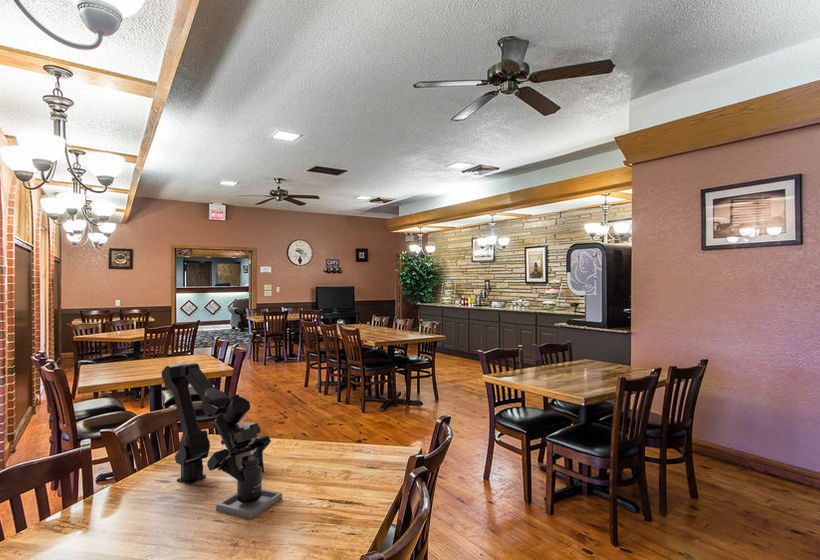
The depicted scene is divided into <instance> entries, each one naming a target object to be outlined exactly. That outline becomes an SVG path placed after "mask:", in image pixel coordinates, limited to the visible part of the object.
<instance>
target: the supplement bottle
mask: <svg viewBox="0 0 820 560" xmlns="http://www.w3.org/2000/svg"><path fill="white" fill-rule="evenodd" d="M258 464H259V457H258V456H257V455H248V456H244V457H243V458H242V462H241V467H240V468H239V471H240V473H241V475H242V477H243V482H239V481H238V480H237V479H236V480H237V483H236V487H237V489H236V492H237V500H238V501H239V502H240V503H253V502H255V501H257V500H259V499H260V498H261V495H262V489H263V488H262V487H263V473H262V467H261V466H260V465H258Z"/></svg>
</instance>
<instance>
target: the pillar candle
mask: <svg viewBox="0 0 820 560" xmlns="http://www.w3.org/2000/svg"><path fill="white" fill-rule="evenodd" d="M252 424H255V422H238V425H239V427H240V428H242V427H243V428H244V429H245V430H246V429H249V428H250V425H252ZM256 438H258V436H257V437H256ZM256 438H252V439H251V440H252V441H251V442H250V443H248V445H250V444H252V443H253V442H254V441H255V440H256ZM248 455H252V454H251V452H247V453H244V454H241V455H239V456H236V457H235V461H236V465H237V467H238V469H239V468H240V467H241V462H242V458H243V457H244V456H248Z"/></svg>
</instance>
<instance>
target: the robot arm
mask: <svg viewBox="0 0 820 560" xmlns="http://www.w3.org/2000/svg"><path fill="white" fill-rule="evenodd" d="M161 378H162V380H163V383H164V384H165V387H166V388H167V389H169V390H170V391H171V392H172V395H173V399H174V403H175V406H176V411H177V416H178V418H179V423H180V427H181V432H182V435H181V439H180V441H179V450H178V451H177V453H176V454H175V456H174V460H175V463H176V464H177V465H180V477H179V478H177V479H176V481H177V482H180V483H185V484H190V485H191V484H194V483H196V482H198V481H200V480H202V479H204V478H207V475H206V474H205V473H204V465H203V462H204V461H203V460H204V459H207V458H208V456H209V453H210V448H211V444H210V442H211V441H210V440H209V437H208V436H209V435H208V432H207V431H206V430H202V429H201V428H200V427H199V424H198V421H197V416H196V412H195V408H194V404H193V401H192V395H191V392H190V389H189V387H190V386H191V388H192V389H193V390H194V391H195V393H196V395H198V397H199V398H200V400H201V405H200V406H201V408H202V410H203V412H204V414H205V415H206V417H208V418H212V417H216V416H218V417H217V418H215V419H213V423H212V425H211V428H212V429H213V430H214V429H217V431H218V433H219V435H220V437H221V441H220V444H221V445H225V448H224V449H220V450H219V451H215V452H214V453H212V454H211V457H210V458H209V459H208V460H207V465H206V466H207V468H208V470H209V471H210V472H211V471H213V470H218V471H222V472H224V473H226V474H228V475H230V476H231V477H232V478H234V479H235V480H238V481H239V482H243V477H242V475H241V473H240V471H239V469H238V467H237V465H236V461H235V457H236V456H239V455H241V454H244V453H247V452H251V454H252V455H257V456H258V457H259V464H258V465H260V466H261V467H262V474H263V473H265V470H264V460H263V457H264V456H263V453H264V451H265V449H266V448H267V447H268V446H269V445H270V444H271V442H272V440H271V438H270V437H269V435H267V434H266V435H265V434H264V435H262V436H258V435H259V434H261V427H260V425H259V423H258V422H256V423H255V422H254V423H255V424H252V425H250V428H249V429H246V430H245V429H244V428H243V427H242V428H240V427H239V425H238V423H241V421H242V420H243V419H244V417H245V416H246V415H247V414H248V412H249V411H250V410H251V403H250V401H249V400H248V399H246V398H244V397H242V396H240V395H239V393H237V394H233V395H231V397H229V396H228V395H227V393H225V392H224V391H223V390H219V389H217V388H216V387H214V385H213V384H212V383H211V382H210V380H209V379H208V378H207V376H206V375H205V374H204V372H203V371H202V370H201V369H200V365H199V363H197V362H192V363H177V364H169V365H166V366H165V367H164V369H163V370H162V371H161ZM256 437H257V438H256ZM252 438H256V440H255V441H254V442H253V443H252V444H250V445H248V443H250V442H251V441H252V440H251V439H252Z"/></svg>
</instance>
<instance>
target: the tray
mask: <svg viewBox="0 0 820 560" xmlns="http://www.w3.org/2000/svg"><path fill="white" fill-rule="evenodd" d="M281 500H283V492H279V491H275V490H270V489H267V488H262V495H261V498H260V499H259V500H257V501H255V502H253V503H240V502H239V501H238V500H237V491H236V492H235V493H233V494H231V495H229V496H228V497H226V498H224V499H222V500H221V501H219V502H217V503H216V504H215V511H216V512H221V513H225V514H229V515H233V516H236V517H240V518H244V519H247V520H250V521H251V520H252V521H253V520H254V519H255V518H257V517H258V516H259V515H261V514H262V513H264V512H266V511H267V510H268V509H270V508H272V507H273V506H275V505H276V504H278V503H279V502H280V501H281Z"/></svg>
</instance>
